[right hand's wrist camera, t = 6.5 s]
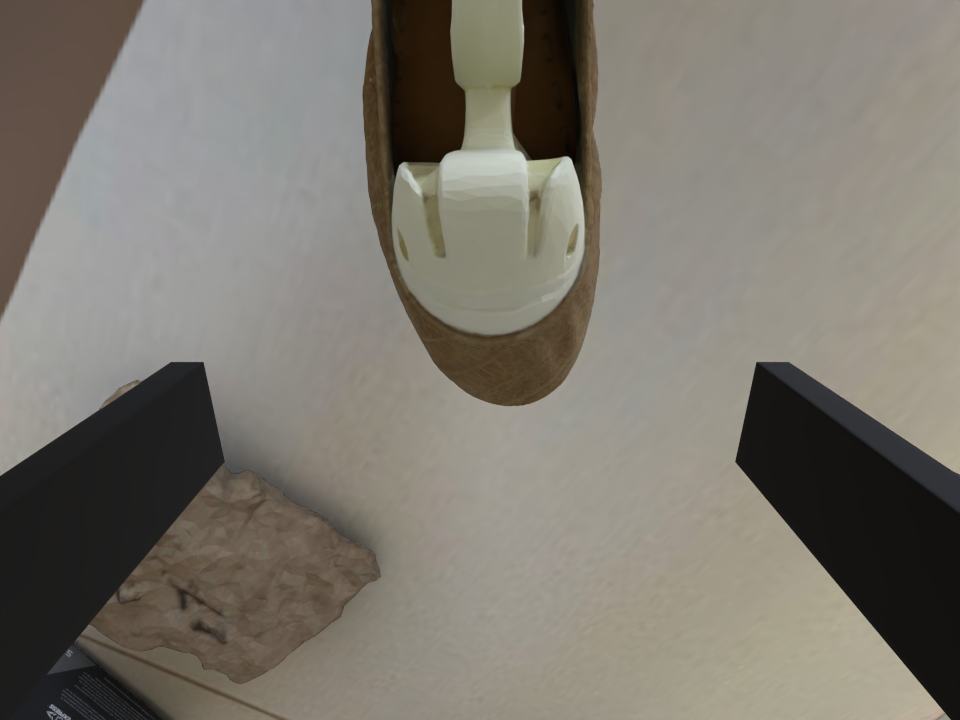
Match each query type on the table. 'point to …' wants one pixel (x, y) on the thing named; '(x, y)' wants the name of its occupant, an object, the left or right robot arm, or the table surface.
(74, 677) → the graphics card box
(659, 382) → the table surface
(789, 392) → the right robot arm
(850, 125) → the table surface
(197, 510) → the stone
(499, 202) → the ballet flat
